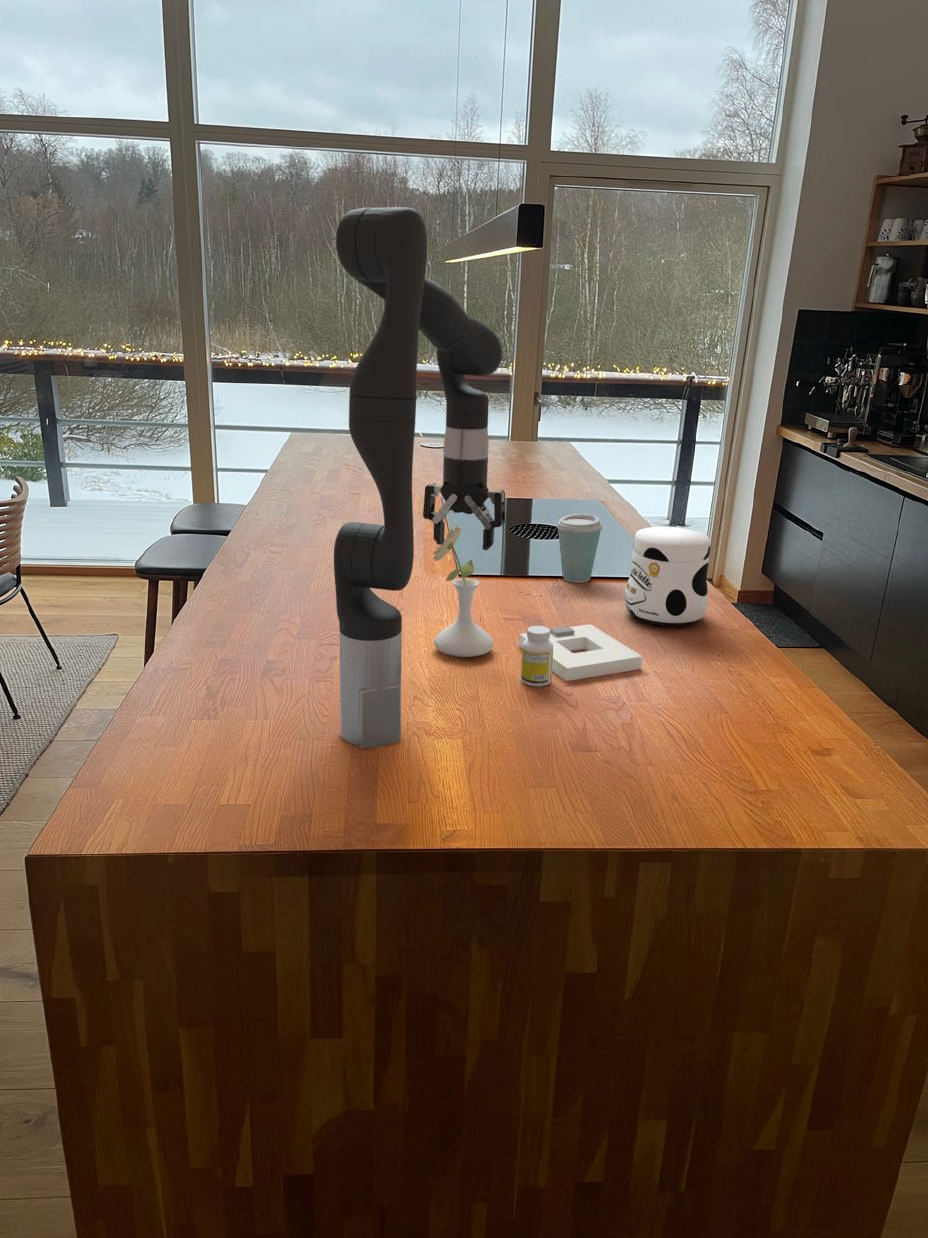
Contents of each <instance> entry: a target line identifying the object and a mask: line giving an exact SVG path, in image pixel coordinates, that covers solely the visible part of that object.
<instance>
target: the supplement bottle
mask: <svg viewBox="0 0 928 1238" xmlns="http://www.w3.org/2000/svg"><path fill="white" fill-rule="evenodd" d="M550 629H551V628H550V627H549V628H548V627H547V626H543V625H532V626H529V627H528V628H527V629H526V633H527V638H528V639H526V640H525V641H524V642H523V646H522V648H521V669H520V670H521V673H520V679H521V681H522V683H523V684H524V685H527V686H530V687H544V686H547V685H549V684H551V682H552V676H553V671H552V661H553V643H552V642H551V641H550V640H549V638H550Z"/></svg>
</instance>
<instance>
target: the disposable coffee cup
mask: <svg viewBox="0 0 928 1238" xmlns="http://www.w3.org/2000/svg"><path fill="white" fill-rule="evenodd" d="M556 528H557V530H558V540H559V542H558V543H559V552H560V562H561V572H562V577H563V580H564V581H566V582H569V583H575V584H577V583H578V584H579V583H580V584H582V583H587V582H590V579H591V577H592V573H593V568H594V565H595V563H594V562H595V558H596V556H597V555H596V554H597V551H598V550H597V549H598V546H599V545H598V544H599V541H600V537H601V535H600V534H601V530H603V524H602V523H601V519H600V517H599V516H596V515H593V514H590V513H589V514H587V513H573V514H570V515H564V516H563V517H561V518H559V520H557V524H556Z"/></svg>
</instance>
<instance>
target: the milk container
mask: <svg viewBox="0 0 928 1238" xmlns="http://www.w3.org/2000/svg"><path fill="white" fill-rule="evenodd" d="M710 553H711V539H710V537H709V536H708V535H706V534H704V533H703V532H701V531H700V532H699V531H696V530H694V529H687V528H682V527H673V526H653V527H645V528H641V529H638V531H636V532H635V536H634V541H633V551H632V560H631V562H632V563H631V564H632V565H631V572H630V575H629V578H628V581H627V583H626V586H625V591H624V605H625V608H626V610H627V612H628V613H629V614H630V615H632V616H633V617H634V618H636V619H637V620H641V621H642V622H646V623H650V624H653V625H661V626H668V627H669V626H677V627H678V626H686V625H691V624H694V623H696V622H699V621H700V620H702V618H703V617H704V616H705V613H706V611H707V609H708V605H709V590H708V582H707V577H708V568H709V563H710Z"/></svg>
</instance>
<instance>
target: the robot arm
mask: <svg viewBox="0 0 928 1238" xmlns="http://www.w3.org/2000/svg"><path fill="white" fill-rule="evenodd" d="M427 233H428V232H427V228H426V224H425V221H424V219H423V217H422V215H421V214H420V212H419V211H418V210H417V209H415V208H412V207H407V206H406V207H404V206H403V207H402V206H401V207H399V206H398V207H397V206H395V207H360V208H356V209H352V210H349V211H348V212H347V213H345V214H344V215H343V216H342V217H341V218H340V221H339V223H338V225H337V229H336V236H335V247H336V254H337V256H338V259H339V262H340V263H341V266H342V267H343V269H344V271H345V272H346V273H347V274H348V275H349V276H350V277H352V278H353V279H354V280H355V281H357V283H359V284H361V285H363V286H364V287H365V288H367V289H368V290H370V291H372V292H373V293H375V294H376V295H377V296H379V297H380V298H381V299H382V300H384V307H383V308H384V309H383V313H382V317H381V320H380V323H379V326H378V328H377V330H376V332H375V334H374V335H373V338H372V340H371V341H370V343H369V345H368V346H367V347H366V350H365V351H364V353H363V355H362V356H361V357H360V360H359V361H358V363H357V365H356V366H355V368H354V371H353V373H352V376H351V379H350V383H349V395H348V399H349V400H348V405H349V406H348V429H349V433H350V436H351V439H352V442H353V444H354V446H355V448H356V450H357V452H358V453H359V456H360V458H361V460H362V462H363V463H364V465H365V467H366V468H367V470H368V472H369V473H370V475H371V477H372V479H373V481H374V483H375V485H376V488H377V491H378V493H379V496H380V501H381V505H382V506H381V507H382V512H383V523H384V524H374V523H367V522H366V523H365V522H358V521H357V522H353V521H352V522H347V523H346V522H345V524H343V525H342V526H341V528H340V529H339V530H338V532H337V535H336V537H335V540H334V546H333V572H334V575H333V576H334V583H335V584H334V585H335V586H334V587H335V602H336V605H335V606H336V614H337V618H338V622H339V623H338V624H339V683H340V684H339V686H340V687H339V690H340V691H339V695H340V699H339V703H340V707H339V708H340V735H341V736H340V737H342V739H343V740H344V741H345V742H347V743H349V744H352V745H353V746H354V745H355V746H357V747H359V748H360V749H361V750H364V749H370V748H376V747H383V746H387V745H394V744H399V743H400V742H401V737H400V736H401V732H402V731H401V730H402V729H401V728H402V725H401V724H402V719H401V718H402V716H401V715H402V710H401V709H402V706H401V705H402V643H403V642H402V639H403V638H402V637H403V635H402V633H403V632H402V630H403V629H402V628H403V627H402V624H403V622H402V621H403V620H402V619H403V618H402V617H403V616H402V614H401V612H400V610H399V609H398V608H397V607H396V606H394V605H392V604H391V603H388V602H387V601H385V600H383V598H380V597H379V596H378V595H377V594H375V592H373V590H372V589H375V590H386V591H398V592H399V591H402V590H404V589H405V588H406V587H407V585H408V584H409V582H410V579H411V577H412V571H413V566H414V559H415V558H414V555H415V553H414V552H415V550H414V549H415V548H414V547H415V540H414V537H415V536H414V515H413V513H414V510H413V462H414V449H415V448H414V447H415V431H416V415H417V413H416V412H417V411H416V410H417V369H418V368H417V367H418V347H419V332H421V333H422V335H423V336H424V337H425V338H426V339H427V340H428V342H430V343H431V345H432V346H434V347H435V348H436V362H437V366H438V371H439V374H440V378H441V382H442V386H443V391H444V392H443V393H444V396H445V402H446V405H445V406H446V407H445V408H446V409H445V410H446V411H445V431H444V438H443V446H442V447H443V449H442V451H443V468H442V470H443V471H442V475H443V476H442V479H443V480H442V481H443V482H442V485H438V484H436V483H435V482H431V483H429V484H427V485H425V487H424V498H423V511H422V517H423V519H425V520H429V521H431V522H432V524H433V537H432V538H433V541H435V542H436V543H435V544H436V545H439V546H441V544H443V543H444V539H445V534H446V533H445V528H446V527H445V526H446V522H445V521H444V519H445V518H446V517H447V515H448V514H449V513H450V512H451V511H452V512H453V513H455V514H460V513H464V514H466V515H472V514H474V515H475V517H476V518H477V520H479V521H480V523H481V524H482V526H483V527H484V529H483V531H482V551H489V549H490V548H491V547H492V546H493V544H494V542H495V541H494V539H495V529H496V528H500V527H501V526H503V525H504V524H506V491H505V490H504V489H500V490H498V491H496V490H489V488H488V468H489V466H488V464H489V447H490V446H489V441H490V440H489V430H488V427H489V426H488V425H489V405H490V403H489V396H488V395H487V393H485V392H484V391H481V390H479V389H476V388H473V387H471V386H470V385H469V383H468V381H467V379H466V377H465V375H466V376H478V377H487V376H490V375H492V374H494V373H495V372H496V371H497V370H498V369H499V367H500V365H501V363H502V359H503V347H502V345H501V342H500V339H499V337H498V336H497V334H495V332H494V331H493V330H491V328H489V327H488V326H487V325H485V324H483V323H482V322H480V321H479V320H477V319H476V318H474V317H472V316H471V315H469V314H467V312H466V311H465V310H464V308H463V307H462V306H461V305H460V303H459V302H458V300H457V299H456V298H455V297H454V296H453V295H452V294H451V292H449V291H448V290H447V289H445V288H444V287H442V286H441V285H440V284H438V283H437V282H435V281H433V280H431V279H429V278H427V277H426V272H427V262H428V234H427ZM439 495H441V496H442V498H443V499H444V503H443V505H442V506H441V507H440V508H439V510H438V511H437V512H436V511H435V510H436V509H435V508H436V498H437V497H438V496H439ZM488 499H490V502H491V504H493V507H494V508H493V511H494V515H493V516H494V518H493V517H492V515H491V514H490V510H489V509H488V507H487V505H486V504H485V502H486V501H487V500H488Z"/></svg>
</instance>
